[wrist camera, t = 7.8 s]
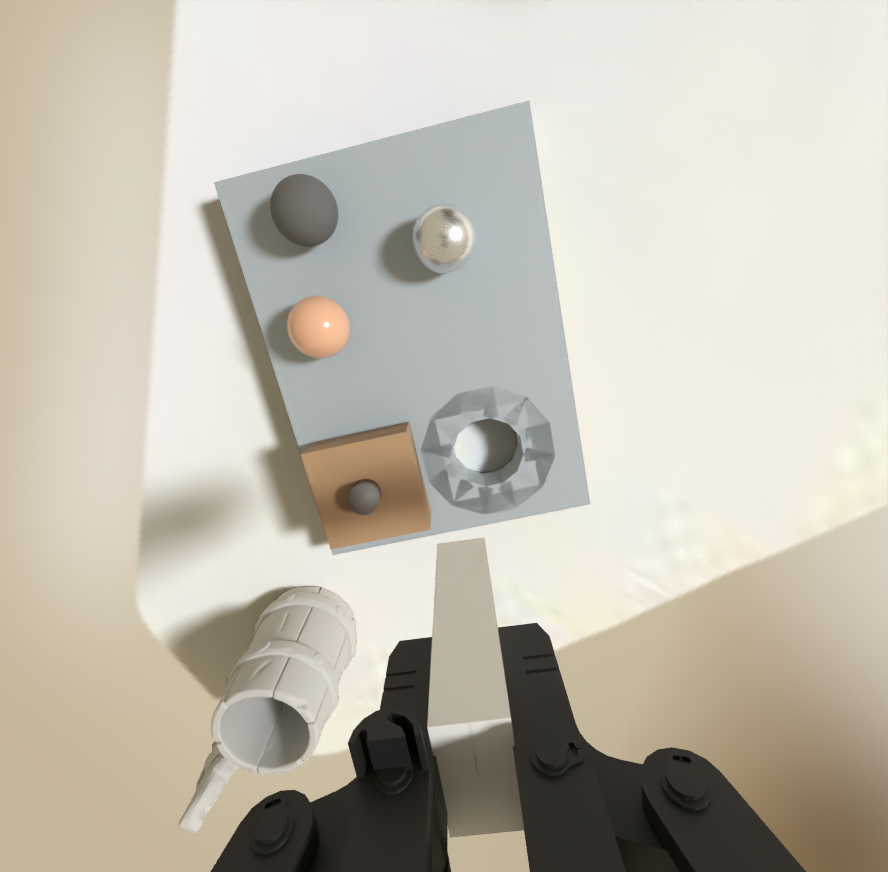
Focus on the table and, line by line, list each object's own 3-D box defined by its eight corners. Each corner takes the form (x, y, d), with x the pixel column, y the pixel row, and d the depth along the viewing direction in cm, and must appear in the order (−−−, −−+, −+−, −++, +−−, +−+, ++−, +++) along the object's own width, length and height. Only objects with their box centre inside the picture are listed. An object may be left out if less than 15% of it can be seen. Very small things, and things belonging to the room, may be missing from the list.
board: (234, 193, 28) (213, 182, 26) (522, 119, 27) (529, 100, 25) (341, 537, 34) (332, 555, 32) (579, 490, 33) (590, 504, 31)
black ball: (275, 192, 26) (249, 174, 23) (335, 177, 26) (317, 156, 22) (294, 256, 27) (272, 248, 23) (351, 242, 27) (337, 232, 23)
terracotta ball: (291, 304, 28) (268, 303, 24) (346, 290, 27) (332, 287, 24) (308, 361, 28) (289, 367, 25) (362, 348, 28) (350, 353, 25)
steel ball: (408, 219, 26) (402, 205, 23) (467, 204, 26) (470, 188, 23) (422, 281, 27) (418, 277, 24) (480, 268, 27) (484, 261, 23)
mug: (380, 620, 36) (347, 765, 25) (290, 709, 39) (223, 879, 27) (303, 562, 35) (231, 687, 23) (215, 658, 37) (111, 814, 26)
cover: (312, 442, 29) (293, 460, 26) (409, 421, 29) (403, 437, 25) (339, 530, 31) (325, 559, 28) (431, 512, 31) (429, 539, 27)
